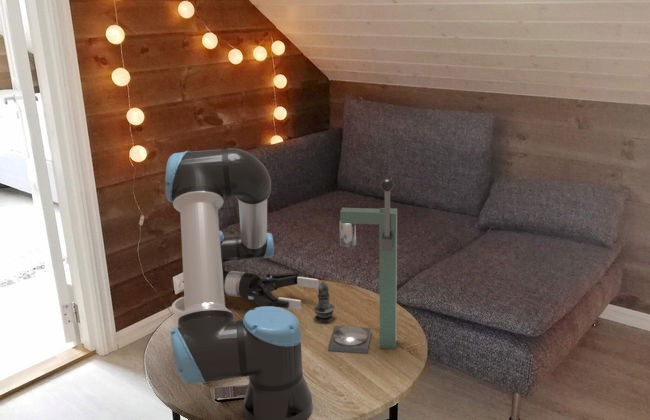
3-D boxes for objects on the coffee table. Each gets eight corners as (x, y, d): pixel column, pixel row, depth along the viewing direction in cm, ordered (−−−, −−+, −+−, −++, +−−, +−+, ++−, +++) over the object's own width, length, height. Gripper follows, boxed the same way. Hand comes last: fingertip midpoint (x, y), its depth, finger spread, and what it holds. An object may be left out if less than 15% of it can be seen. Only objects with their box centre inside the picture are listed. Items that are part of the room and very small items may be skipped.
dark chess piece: (332, 312, 167) (331, 275, 163) (336, 322, 162) (335, 284, 158) (312, 315, 166) (310, 277, 162) (316, 325, 161) (314, 286, 157)
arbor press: (394, 355, 145) (395, 181, 130) (328, 350, 148) (322, 179, 133) (397, 334, 155) (398, 169, 140) (334, 330, 158) (329, 168, 143)
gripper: (262, 278, 183) (325, 287, 176) (223, 316, 161) (293, 327, 154) (261, 257, 181) (324, 264, 174) (221, 292, 159) (291, 302, 152)
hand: (309, 294), depth 164 cm, fingers open, 13 cm apart
